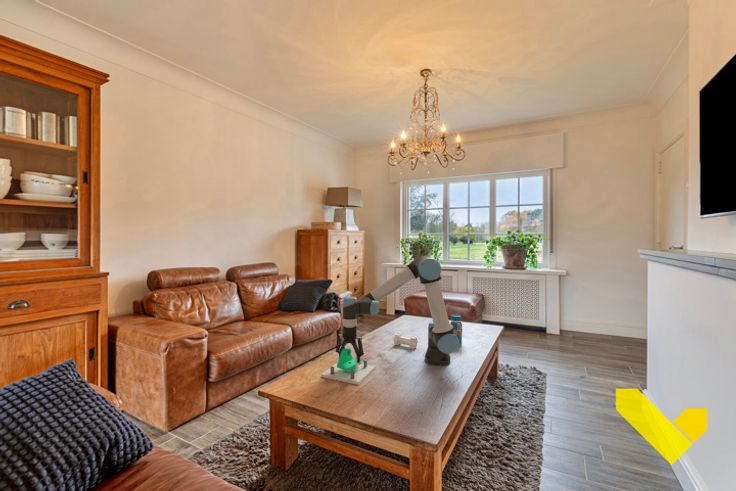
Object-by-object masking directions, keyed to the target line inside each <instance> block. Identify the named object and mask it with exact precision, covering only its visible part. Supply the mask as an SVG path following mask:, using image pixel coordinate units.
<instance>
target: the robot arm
mask: <svg viewBox="0 0 736 491" xmlns="http://www.w3.org/2000/svg"><path fill="white" fill-rule="evenodd" d="M441 273H442V265H441V263H440V262H439V261H438V260H437V259H436V258H433V257H431V256H426V255H421V256H418V257H417V258H415V259H413V260H412V261H410V263H408V264H407V265H405V268H404V269H402V270H401V271H399V272H398V273H396V274H394V275H393V276H392V277H390V278H389V279H388V280H386V281H385V282H383V283H382V284H380V285H378V286H377V287H376V288H374V289H373V290H371V291H370V292H368V293H367V294H364V295H361V296H360V298H359V300H358V298H357V297H356V296H346V297H343V300H342V334H341V333H339V334H338V335H337V342H336V347H335V353H337V354H338V358H339V357H340V355H341V352H342V350H343V348H344V347H346V345H347V344H350V345H351V346H352V348H353V350H354V353H355V355H356V356H355V358H354V359H355V369H358V368H359V362H360V361H361V357H363V356H364V348H363V342H362V340H363V337H362V336H358V335H357V334H358V333H357V328H358V327H357V325H358V323H357V322H358V320H357V316H361V315H363V316H367V315H368V316H370V315H371V316H374V315H379V313H380V305H379V304H380V302H381V301H382V300H384V299H386V298H387V297H388V296H390V295H392V294H393V293H394V292H396V291H397V290H398V289H400V288H402V287H403V286H405V285H406V284H408V283H409V282H411V281H412V280H417V279H419V282H420V284H421V285H422V286H423V287H424V290H425V291H424V292H425V295H426V299H427V304H428V307H429V311H430V314H431V320H432V322H429V323H428V328H427V329H428V330H427V331H428V332H427V338H428V339H427V349H426V352H425V354H424V362H426V363H427V364H430V365H433V366H434V365H435V366H446V365H447V366H448V365H449V364H450V363H451V355H452V354H454V353H455V352H456V351H457V350H458V348H459V347H460V346H459V340H458V338H457V336H456V335H455V333H454V329H453V326H452V325H451V324H450V323H451V322H450V320H449V317H448V316H449V315H448V312H447V308H446V304H445V300H444V296H443V292H442V288H441V283H440V282H441V281H442V275H441ZM342 339H343V340H342Z"/></svg>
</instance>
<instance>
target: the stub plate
mask: <svg viewBox="0 0 736 491" xmlns="http://www.w3.org/2000/svg"><path fill="white" fill-rule="evenodd" d="M337 363H338V361H337V362H336V363H335V364H333V365H332V366H330V367H329V368H327V369H326V370H325V371H323V372H322V373H321V375H320V377H321V378H323V379H329V380H333V381H338V382H339V381H340V382H344V383H347V384H348V383H349V384H352V385H358V386H359V385H360V384H361V383H362V382H364V381H365V380H366V379H367V378H368V377H369V376H370V375H371V374H372V373H373V372H374V371H375V370H376V368H377V366H376V365H371V364H368V359H363V363H361V364H360V365H359V368H358V369H355V370H352V371H351V370H349V371H346V370H343V369H340V368H337Z"/></svg>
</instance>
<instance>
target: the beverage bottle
mask: <svg viewBox="0 0 736 491" xmlns="http://www.w3.org/2000/svg"><path fill="white" fill-rule="evenodd" d="M450 316H451V317H450V319H451V321H450V322H449V323H450V324H451V325H452V326H453V329H454V333H455V335H456V336H457V338H458V340H459V346H458V347H460V346H462V344H463V324H462V322H461V321H462V316H461V315H460V314H451V315H450Z"/></svg>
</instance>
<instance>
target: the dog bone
mask: <svg viewBox="0 0 736 491" xmlns="http://www.w3.org/2000/svg"><path fill="white" fill-rule="evenodd" d="M392 341H393V344H394V346H396V347H398V346H401V345H404V346H409V348H410V349H411V350H414V349H417V347H418V343H419V340H418V337H417V336H416V335H412V336H410V337H406V336H403V335H402V333H400V332H397V333H396V334H394V338H393V340H392Z"/></svg>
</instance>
